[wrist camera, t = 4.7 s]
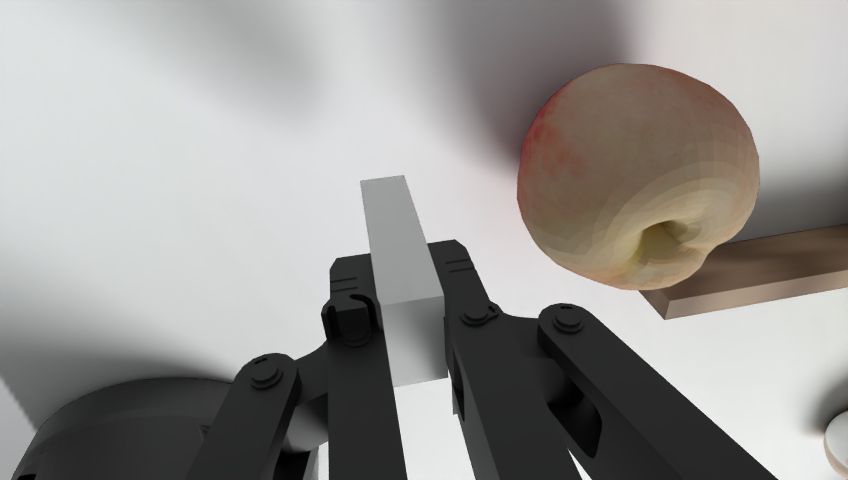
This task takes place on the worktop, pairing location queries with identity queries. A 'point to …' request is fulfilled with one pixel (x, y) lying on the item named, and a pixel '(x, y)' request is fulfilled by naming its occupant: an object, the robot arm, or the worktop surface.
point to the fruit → (636, 175)
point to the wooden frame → (759, 273)
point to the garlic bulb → (838, 444)
